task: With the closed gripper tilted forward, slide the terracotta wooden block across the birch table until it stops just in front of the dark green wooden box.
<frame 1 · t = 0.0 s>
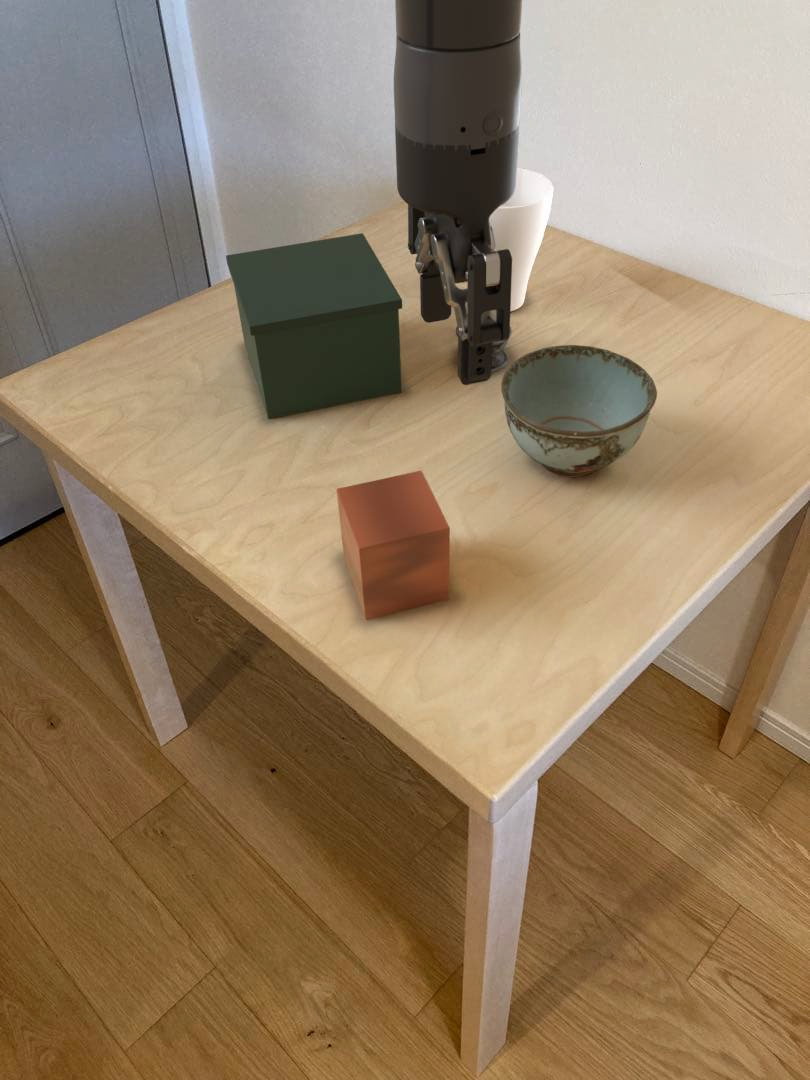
hand: (454, 348, 65), 18 cm above the table, tool pointing down, fingers open, 8 cm apart
box: (320, 368, 96), on the table
salt shaker: (482, 360, 96), on the table
block: (395, 579, 74), on the table
cup: (498, 301, 105), on the table
bowl: (569, 457, 84), on the table
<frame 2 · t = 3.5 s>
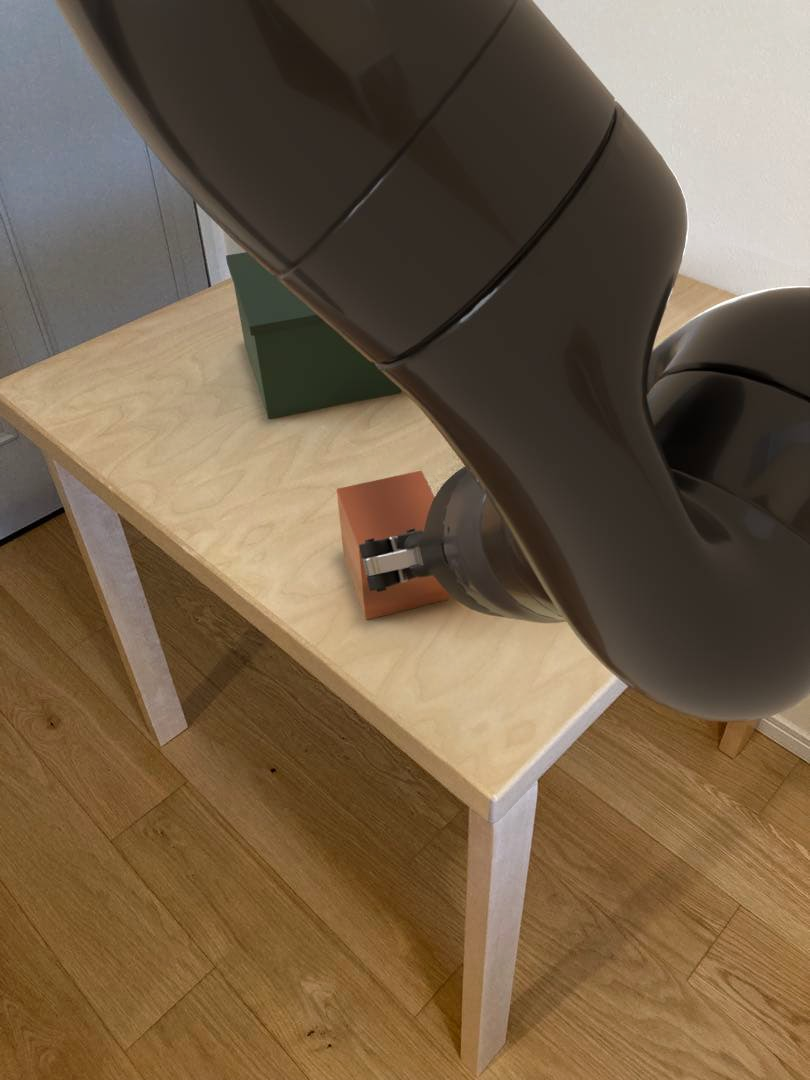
hand: (440, 545, 55), 15 cm above the table, tool tilted 45°, fingers closed
nothing on the table moved.
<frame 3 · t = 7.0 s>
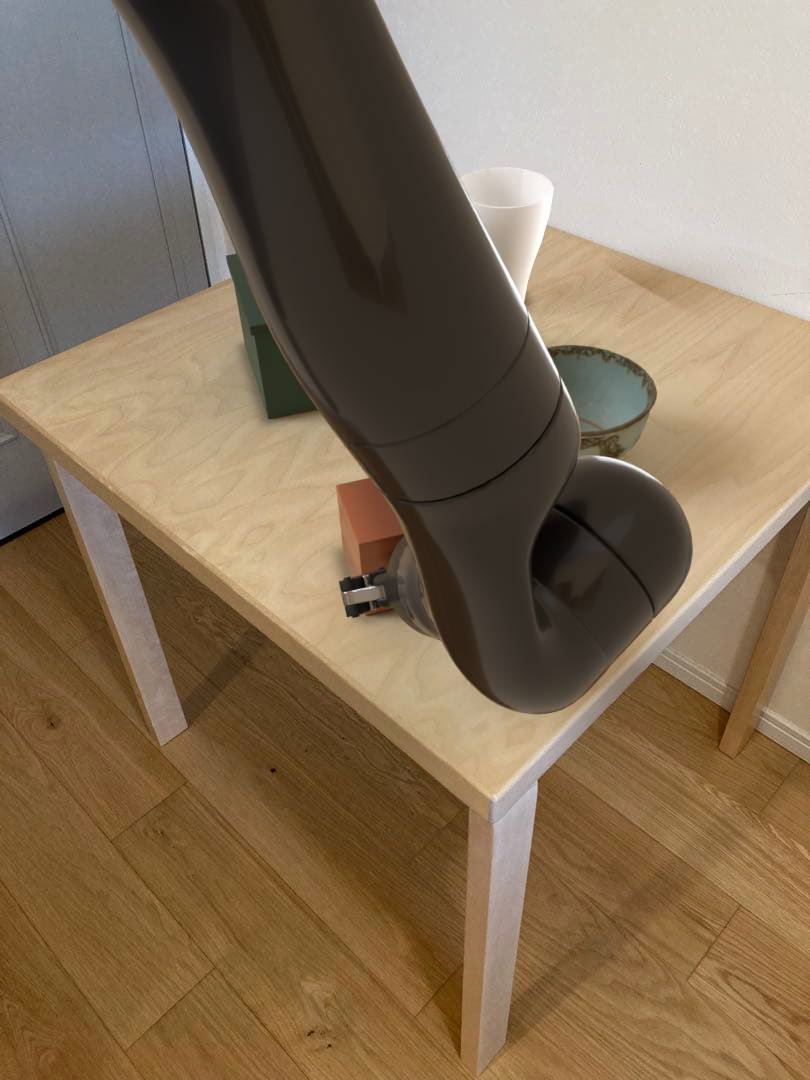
hand: (408, 577, 68), 4 cm above the table, tool tilted 45°, fingers closed
block: (394, 575, 74), on the table, touching gripper
everything else where it was.
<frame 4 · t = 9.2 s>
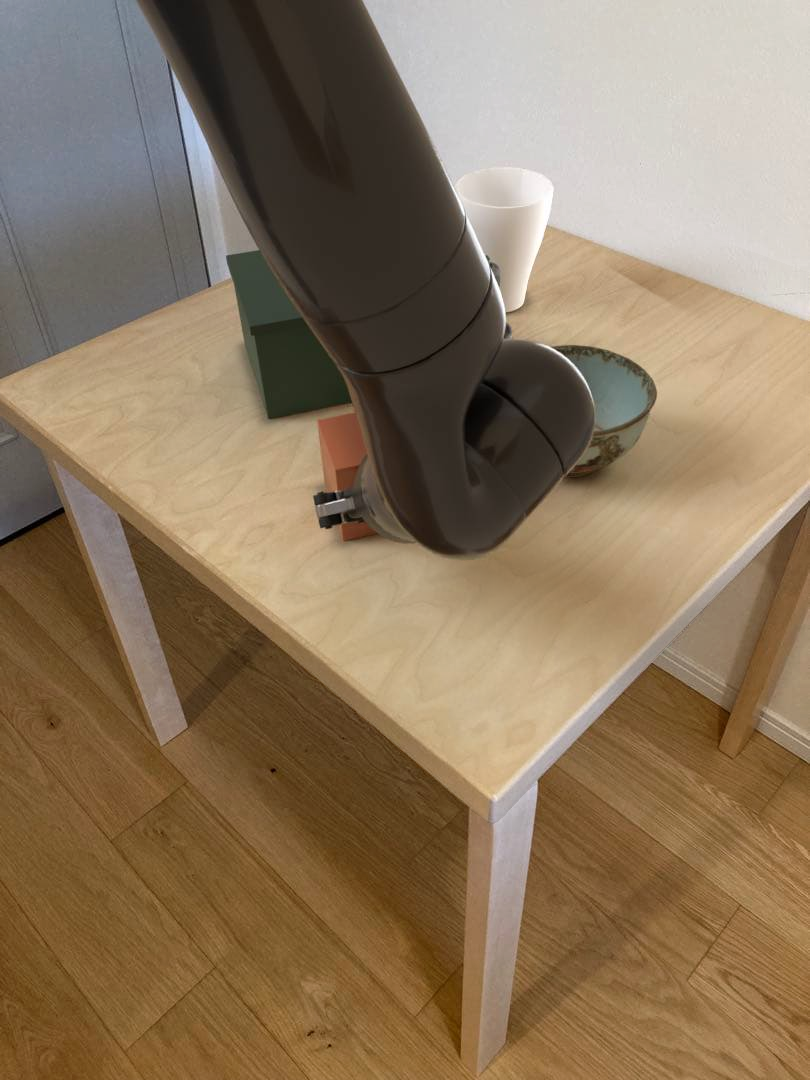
hand: (380, 503, 74), 4 cm above the table, tool tilted 45°, fingers closed
block: (372, 506, 80), on the table, touching gripper
everything else where it was.
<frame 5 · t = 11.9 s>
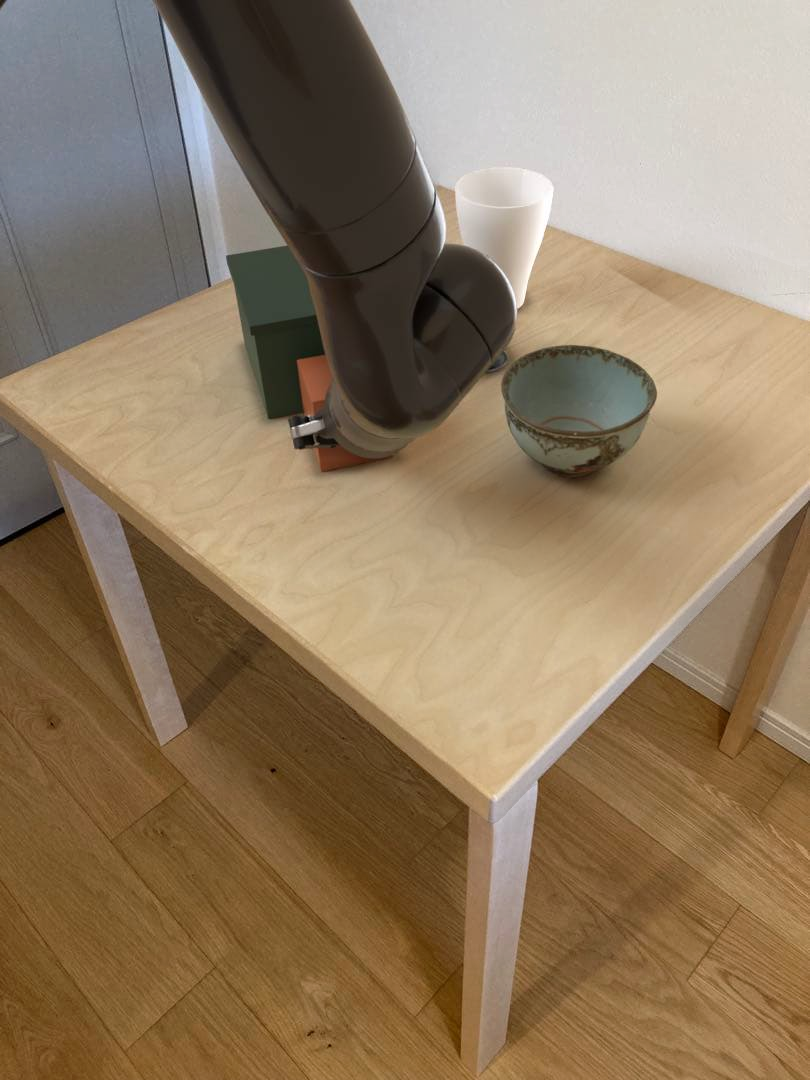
hand: (353, 434, 81), 4 cm above the table, tool tilted 45°, fingers closed
block: (348, 442, 87), on the table, touching gripper
everything else where it was.
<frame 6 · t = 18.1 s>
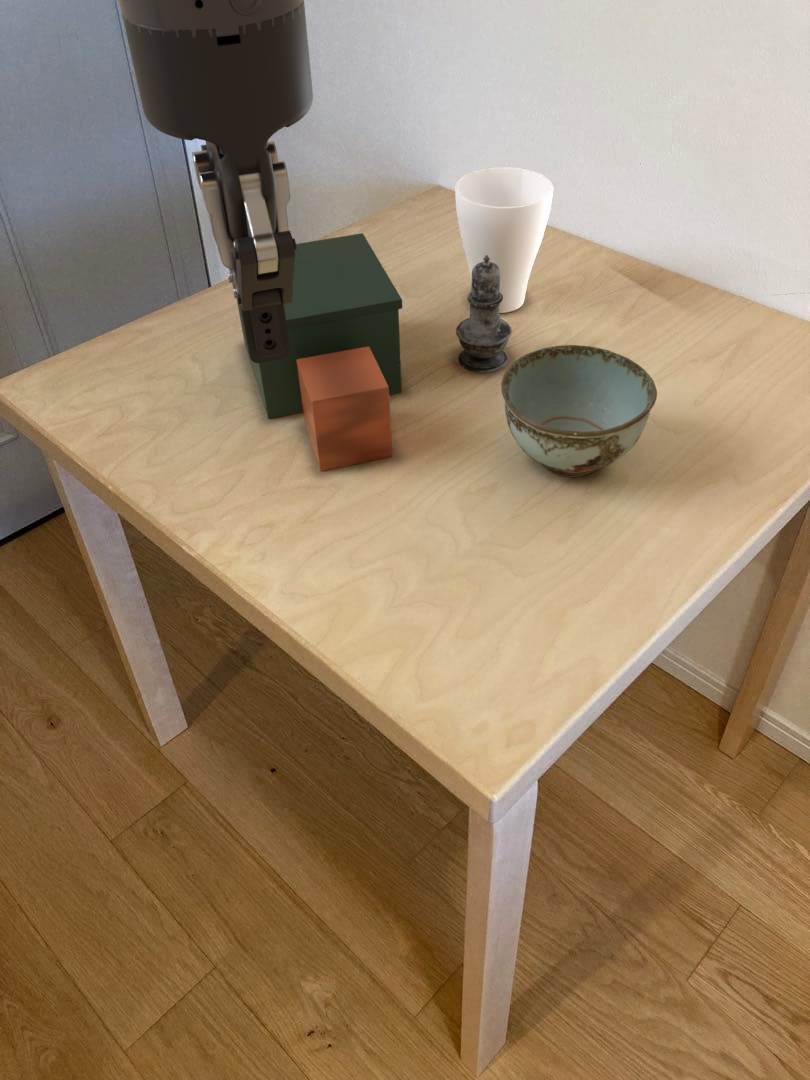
hand: (268, 354, 49), 27 cm above the table, tool pointing down, fingers closed
block: (348, 442, 87), on the table
everything else where it was.
at the end: block inside the target area on the table beside the box (0.6 cm from its centre), on the table; block tilted 0°; block moved 18.8 cm from its start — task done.
